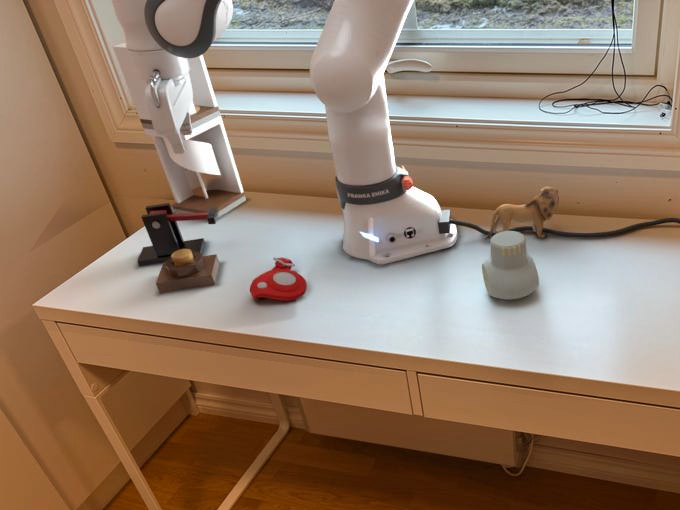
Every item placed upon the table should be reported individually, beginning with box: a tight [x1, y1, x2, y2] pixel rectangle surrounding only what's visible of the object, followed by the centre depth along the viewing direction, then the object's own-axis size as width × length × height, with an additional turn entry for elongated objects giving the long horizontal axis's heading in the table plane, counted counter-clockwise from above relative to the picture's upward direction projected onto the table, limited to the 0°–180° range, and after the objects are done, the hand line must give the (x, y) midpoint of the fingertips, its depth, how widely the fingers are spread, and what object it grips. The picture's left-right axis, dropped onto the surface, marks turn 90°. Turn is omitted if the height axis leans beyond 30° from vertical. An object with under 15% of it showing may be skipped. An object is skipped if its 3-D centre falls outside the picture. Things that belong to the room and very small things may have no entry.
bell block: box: [155, 251, 221, 294], centre depth 130 cm, size 10×8×4 cm
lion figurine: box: [485, 185, 560, 240], centre depth 133 cm, size 15×5×9 cm, turn 103°
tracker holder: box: [249, 256, 308, 302], centre depth 125 cm, size 12×4×10 cm
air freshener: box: [481, 230, 540, 301], centre depth 117 cm, size 11×8×10 cm
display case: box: [112, 41, 247, 221], centre depth 146 cm, size 11×11×35 cm
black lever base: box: [136, 202, 206, 267], centre depth 137 cm, size 12×6×10 cm, turn 101°
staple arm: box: [150, 207, 218, 225], centre depth 136 cm, size 12×5×2 cm, turn 100°
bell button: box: [171, 249, 194, 266], centre depth 129 cm, size 4×4×2 cm
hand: (184, 142), depth 127 cm, fingers open, 8 cm apart
